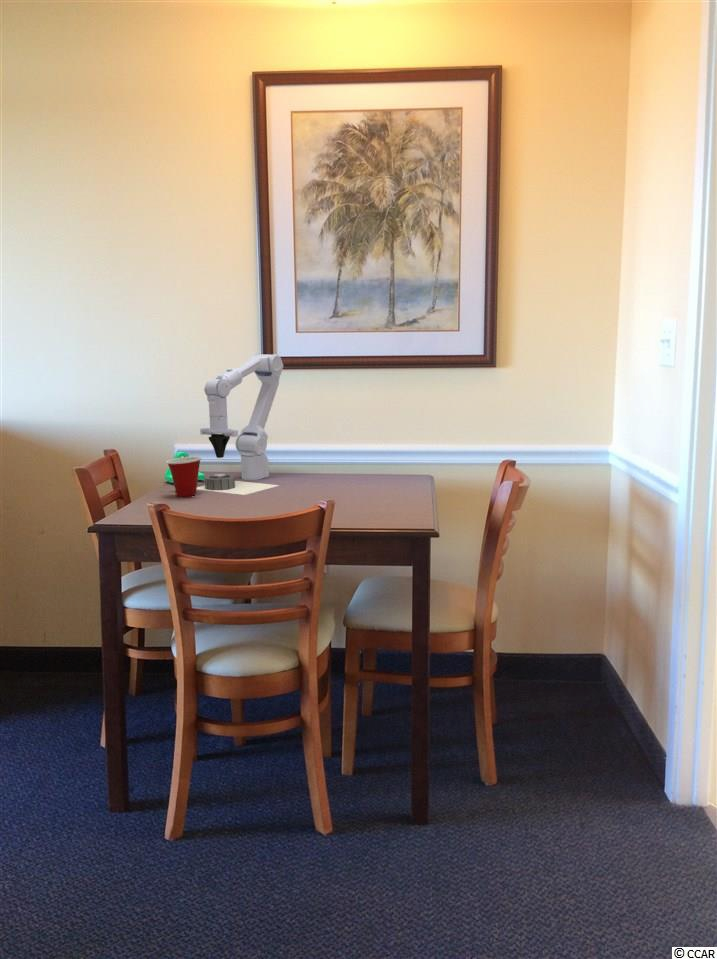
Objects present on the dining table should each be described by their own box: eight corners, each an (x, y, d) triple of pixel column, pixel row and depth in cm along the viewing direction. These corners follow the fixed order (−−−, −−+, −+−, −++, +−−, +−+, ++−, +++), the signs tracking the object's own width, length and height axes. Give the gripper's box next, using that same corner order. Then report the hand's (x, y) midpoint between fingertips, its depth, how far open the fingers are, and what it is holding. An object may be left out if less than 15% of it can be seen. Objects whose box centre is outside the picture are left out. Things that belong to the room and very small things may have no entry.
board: (227, 482, 297) (227, 469, 296) (279, 487, 285) (279, 474, 284) (191, 491, 282) (190, 478, 281) (244, 497, 270) (244, 483, 269)
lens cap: (219, 485, 286) (219, 472, 286) (231, 487, 284) (230, 474, 283) (209, 487, 282) (208, 475, 282) (220, 489, 280) (219, 476, 279)
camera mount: (172, 486, 292) (170, 455, 291) (164, 482, 299) (163, 453, 297) (206, 482, 298) (204, 452, 297) (198, 479, 305) (196, 450, 303)
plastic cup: (170, 493, 279) (168, 456, 277) (204, 492, 280) (202, 455, 277) (165, 500, 268) (163, 461, 266) (201, 498, 269) (199, 460, 267)
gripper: (193, 416, 284) (195, 457, 287) (227, 418, 277) (229, 460, 279) (207, 414, 290) (209, 454, 293) (241, 416, 283) (243, 457, 285)
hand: (220, 457), depth 286 cm, fingers closed
